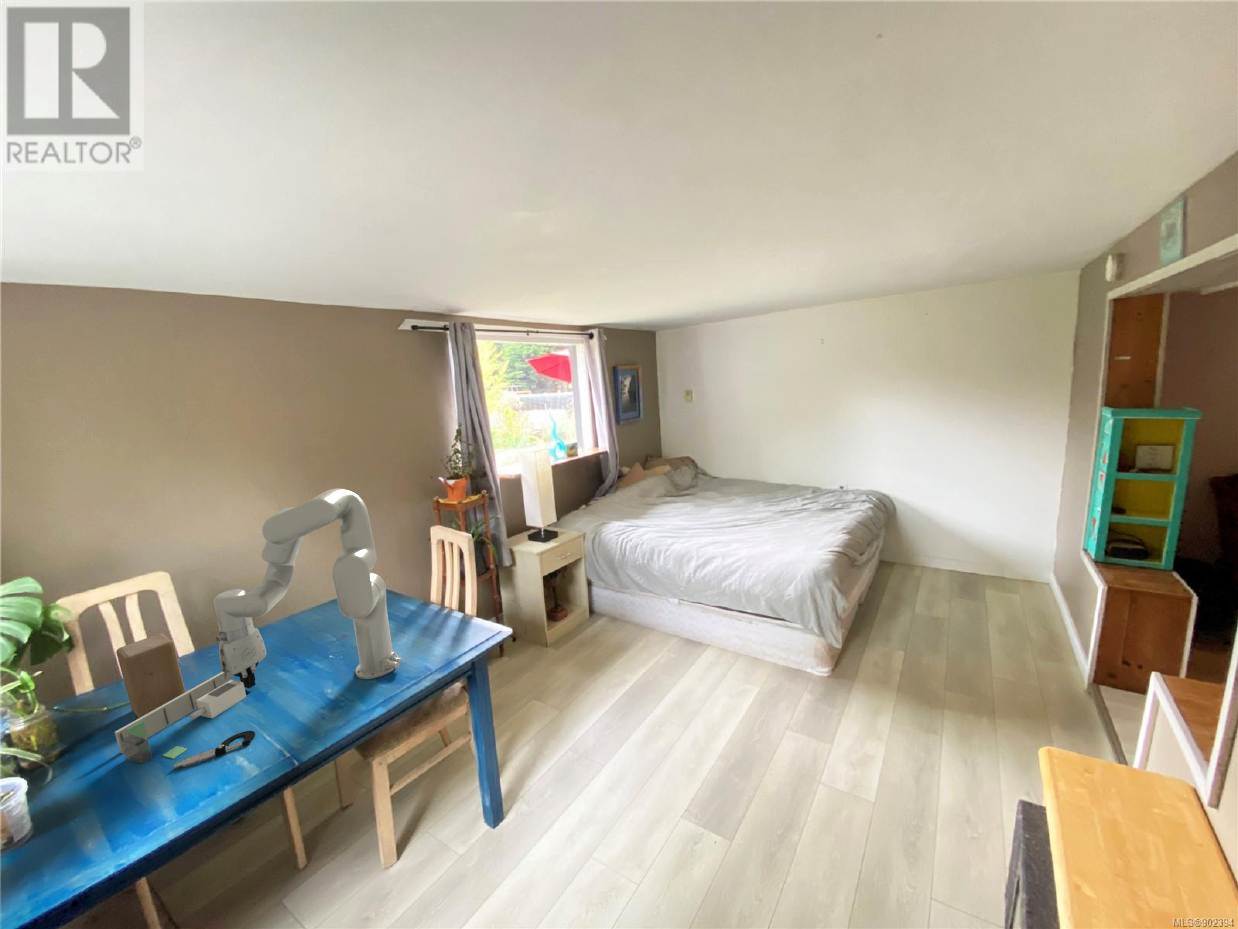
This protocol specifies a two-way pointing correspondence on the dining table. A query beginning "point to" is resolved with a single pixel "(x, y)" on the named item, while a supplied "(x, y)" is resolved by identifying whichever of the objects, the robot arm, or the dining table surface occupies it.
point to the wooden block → (150, 673)
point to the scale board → (169, 711)
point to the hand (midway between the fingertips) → (249, 686)
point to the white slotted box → (219, 699)
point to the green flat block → (175, 752)
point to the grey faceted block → (136, 749)
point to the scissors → (217, 750)
